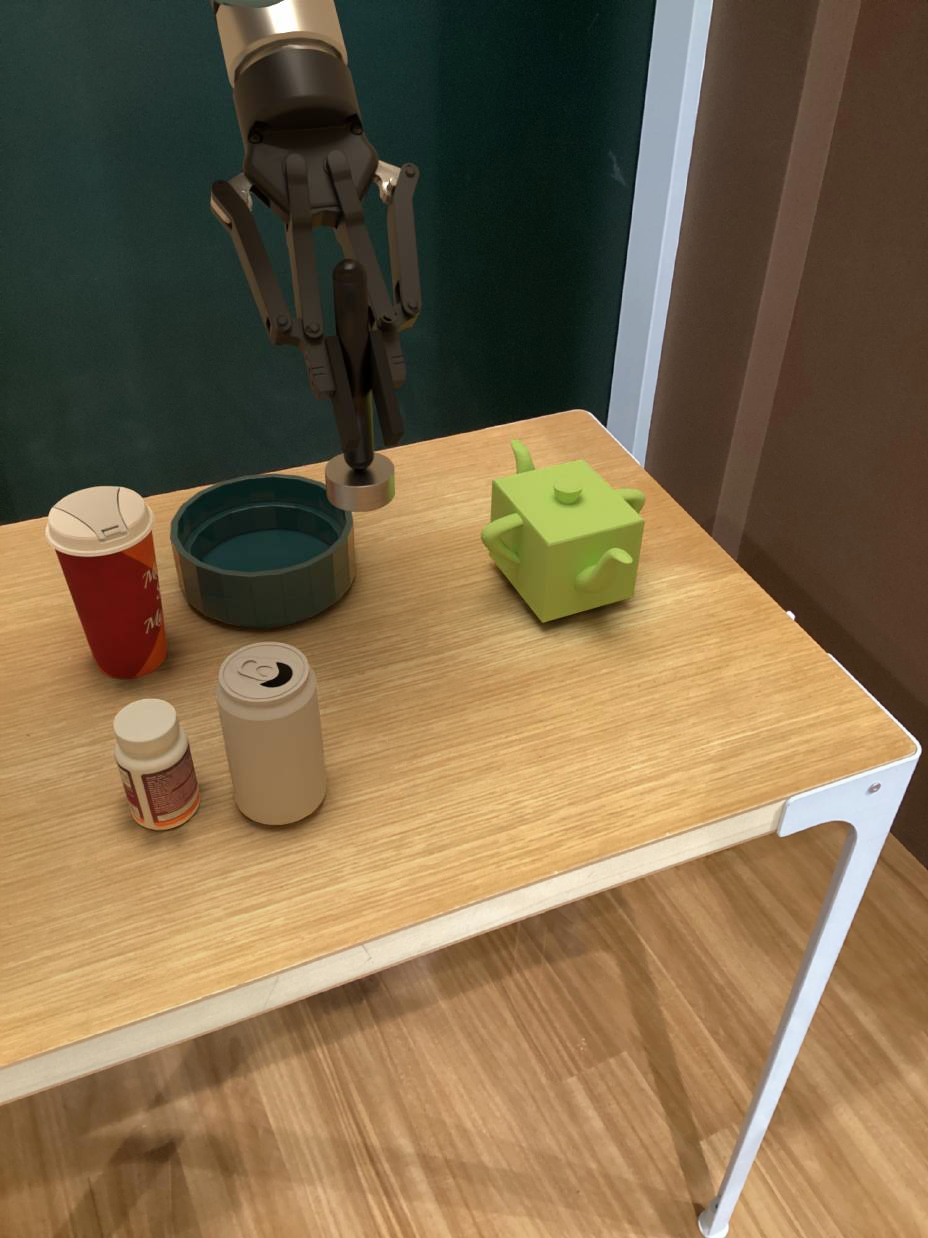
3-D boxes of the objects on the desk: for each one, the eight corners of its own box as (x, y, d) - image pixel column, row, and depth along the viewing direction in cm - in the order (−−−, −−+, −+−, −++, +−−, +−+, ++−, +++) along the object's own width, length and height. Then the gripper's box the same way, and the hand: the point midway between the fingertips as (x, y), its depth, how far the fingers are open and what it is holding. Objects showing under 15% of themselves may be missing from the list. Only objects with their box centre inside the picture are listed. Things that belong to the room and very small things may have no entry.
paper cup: (196, 665, 85) (168, 518, 76) (102, 701, 82) (61, 553, 73) (158, 613, 90) (128, 470, 81) (68, 645, 87) (26, 500, 78)
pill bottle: (211, 784, 76) (193, 698, 70) (185, 837, 72) (165, 750, 67) (147, 774, 76) (125, 689, 71) (119, 826, 72) (94, 740, 67)
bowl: (178, 642, 87) (167, 584, 83) (183, 536, 99) (173, 480, 95) (364, 623, 89) (361, 566, 86) (347, 522, 101) (344, 467, 97)
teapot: (618, 655, 87) (633, 549, 80) (461, 623, 90) (462, 518, 83) (648, 550, 98) (663, 449, 91) (507, 525, 101) (512, 425, 94)
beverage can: (301, 843, 72) (286, 715, 64) (217, 816, 73) (192, 688, 66) (342, 776, 76) (332, 650, 69) (262, 753, 78) (244, 627, 70)
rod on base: (329, 515, 70) (311, 276, 60) (324, 477, 73) (306, 246, 63) (399, 509, 70) (392, 272, 60) (391, 472, 74) (384, 243, 64)
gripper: (395, 105, 72) (473, 440, 71) (169, 122, 68) (247, 478, 67) (418, 34, 65) (505, 405, 64) (167, 48, 61) (254, 445, 60)
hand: (373, 442), depth 65 cm, fingers closed on rod on base, 2 cm apart
